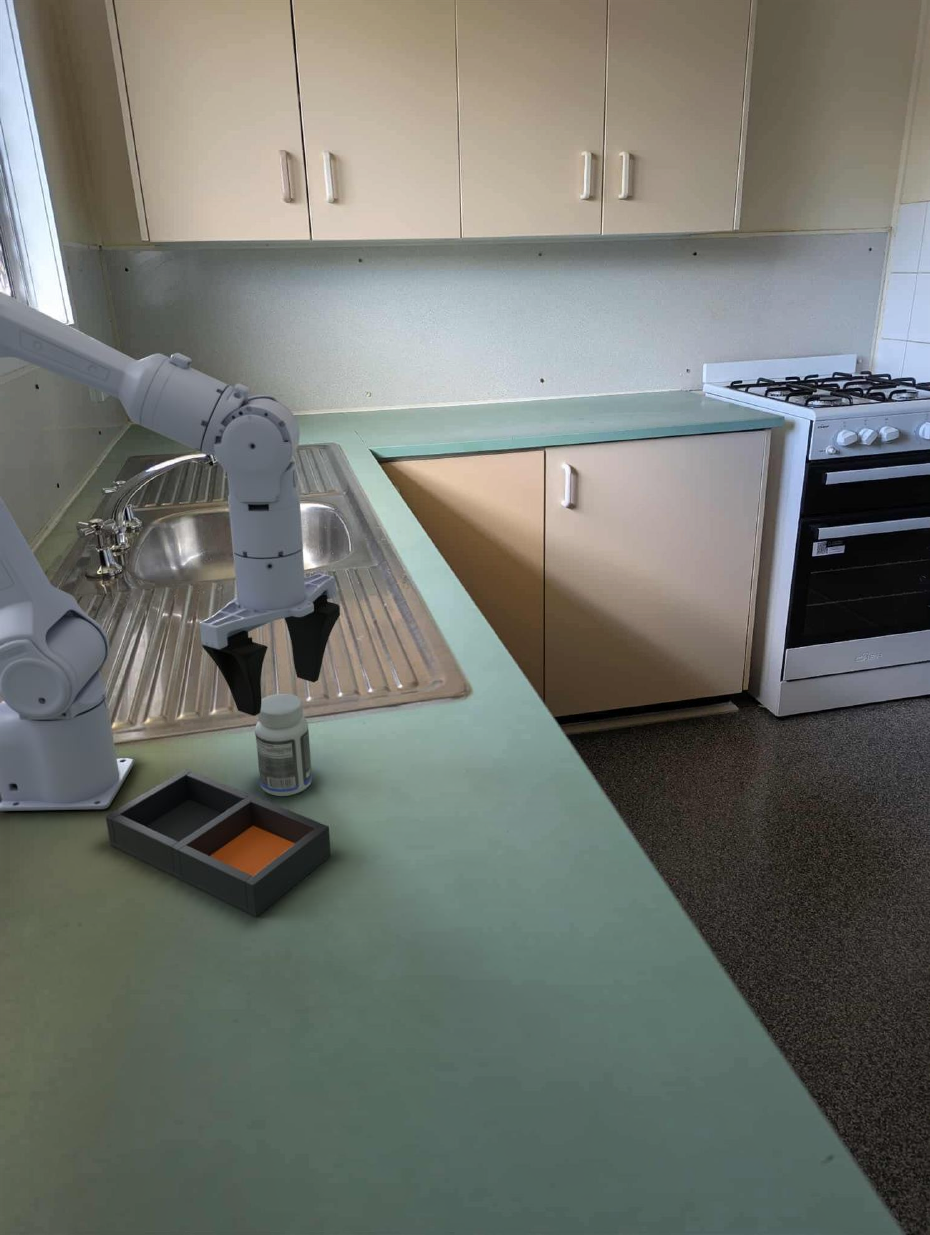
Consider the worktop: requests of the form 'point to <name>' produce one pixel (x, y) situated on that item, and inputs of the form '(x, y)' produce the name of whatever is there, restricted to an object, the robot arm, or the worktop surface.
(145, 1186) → the worktop surface
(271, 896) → the tray
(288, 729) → the pill bottle
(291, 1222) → the worktop surface
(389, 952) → the worktop surface
